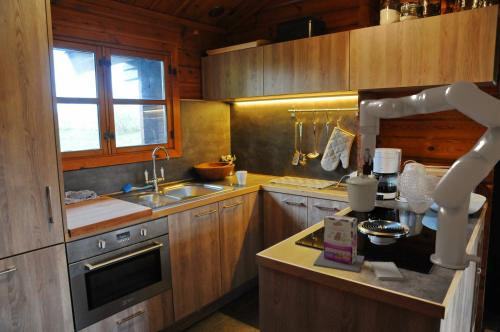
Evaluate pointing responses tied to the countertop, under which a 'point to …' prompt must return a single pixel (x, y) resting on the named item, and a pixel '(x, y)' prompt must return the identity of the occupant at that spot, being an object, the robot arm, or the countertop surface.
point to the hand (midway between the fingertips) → (368, 172)
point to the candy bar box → (340, 239)
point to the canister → (362, 193)
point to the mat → (339, 263)
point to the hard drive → (386, 271)
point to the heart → (425, 179)
